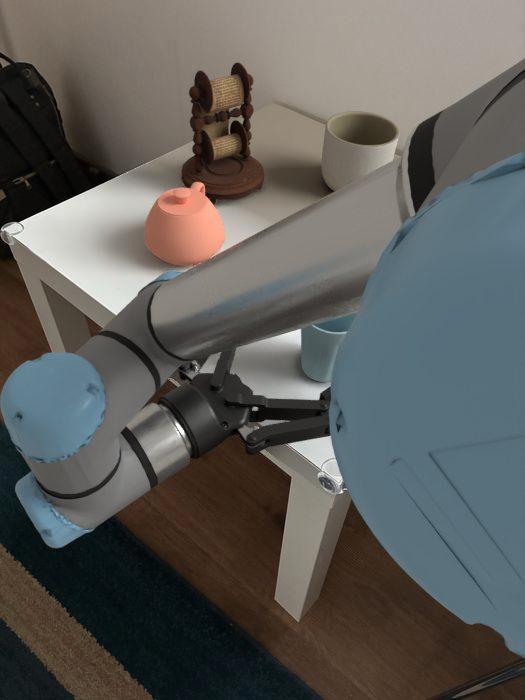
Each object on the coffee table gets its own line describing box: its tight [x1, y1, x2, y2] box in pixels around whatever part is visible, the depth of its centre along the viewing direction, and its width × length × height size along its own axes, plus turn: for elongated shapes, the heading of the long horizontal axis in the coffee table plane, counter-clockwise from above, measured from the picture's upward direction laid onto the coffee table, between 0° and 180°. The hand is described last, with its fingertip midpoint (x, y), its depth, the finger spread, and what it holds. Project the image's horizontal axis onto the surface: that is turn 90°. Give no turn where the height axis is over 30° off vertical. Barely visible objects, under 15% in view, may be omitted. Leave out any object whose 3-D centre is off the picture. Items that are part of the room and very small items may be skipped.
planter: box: [321, 110, 400, 192], centre depth 95 cm, size 12×12×11 cm
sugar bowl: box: [143, 182, 226, 267], centre depth 82 cm, size 12×14×10 cm
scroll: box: [180, 62, 265, 206], centre depth 90 cm, size 15×15×20 cm
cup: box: [300, 312, 358, 383], centre depth 66 cm, size 8×8×10 cm
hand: (321, 339), depth 65 cm, fingers open, 13 cm apart
